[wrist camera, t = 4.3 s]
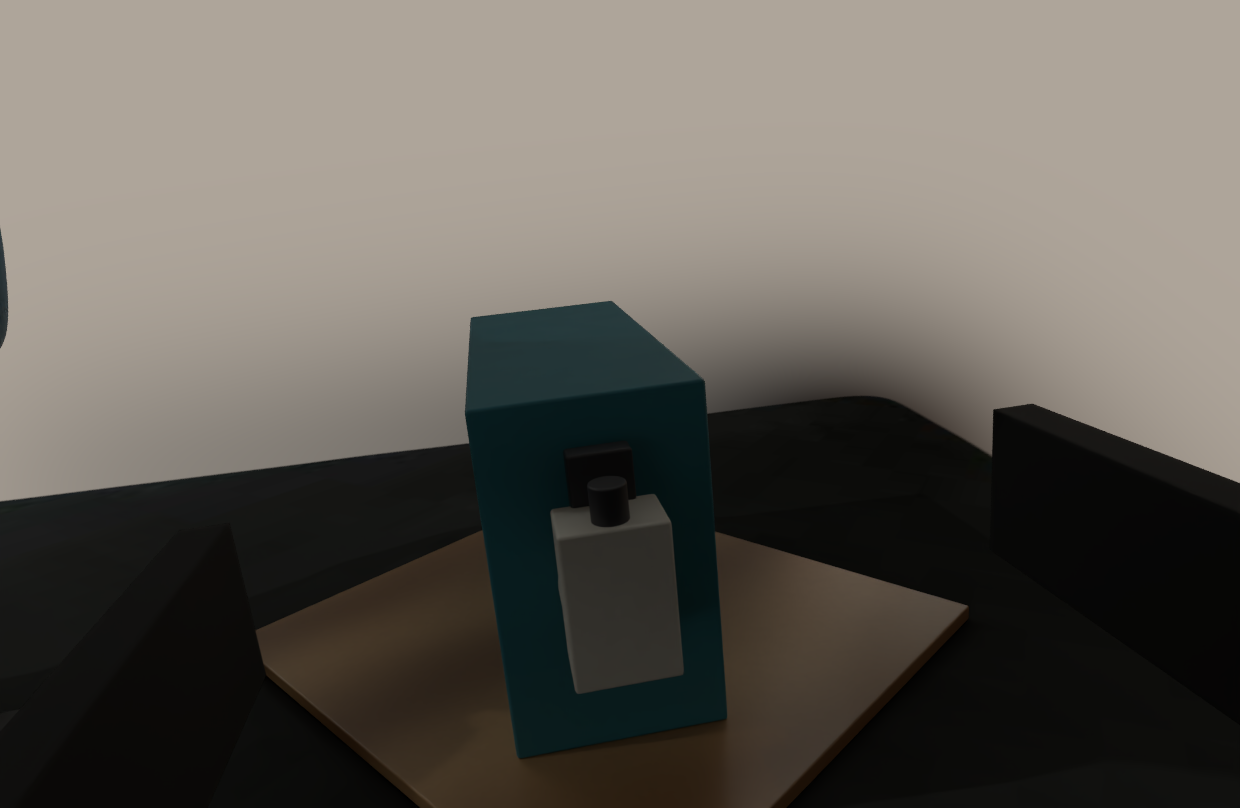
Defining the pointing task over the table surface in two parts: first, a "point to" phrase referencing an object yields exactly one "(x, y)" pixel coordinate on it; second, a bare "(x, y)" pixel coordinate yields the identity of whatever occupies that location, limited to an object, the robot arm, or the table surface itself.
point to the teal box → (595, 526)
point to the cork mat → (622, 769)
